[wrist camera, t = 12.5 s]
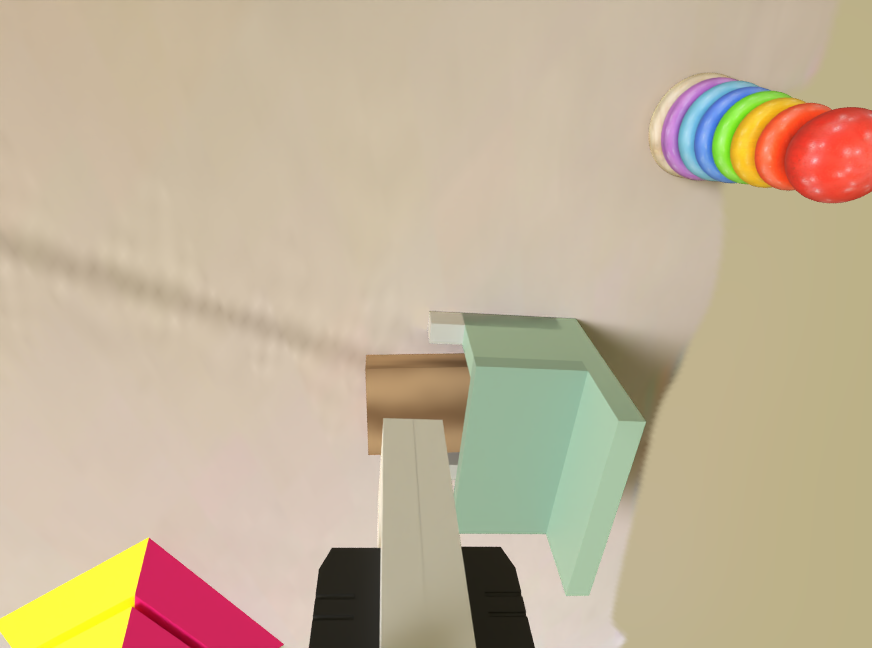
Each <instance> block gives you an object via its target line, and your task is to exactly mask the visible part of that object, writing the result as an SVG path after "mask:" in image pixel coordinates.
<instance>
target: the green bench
mask: <svg viewBox="0 0 872 648" xmlns="http://www.w3.org/2000/svg"><path fill="white" fill-rule="evenodd" d="M428 337H429V343H434V344H456V345H462V346H463V350H464V354H465V358H466V362H467V366H468V369H469V373H470V377H471V378H470V385H469V392H468V399H467V405H466V412H465V419H464V426H463V433H462V440H461V447H460V452H450V453H447V454H448V461H449V468H450V474H451V480H456V481H455V488H454V494H453V495H454V501H455V508H456V515H457V522H458V529H459V534H546V535H547V539H548V542H549V545H550V548H551V551H552V554H553V557H554V560H555V563H556V566H557V569H558V572H559V576H560V579H561V582H562V585H563V588H564V591H565V594H566V596H589V594H590V591H591V588H592V585H593V582H594V579H595V576H596V573H597V570H598V567H599V564H600V561H601V558H602V555H603V552H604V549H605V546H606V543H607V540H608V537H609V534H610V530H611V527H612V524H613V521H614V518H615V515H616V512H617V509H618V506H619V503H620V500H621V497H622V494H623V491H624V488H625V485H626V482H627V479H628V476H629V473H630V470H631V467H632V464H633V461H634V458H635V454H636V451H637V448H638V445H639V442H640V439H641V436H642V433H643V430H644V427H645V424H646V421H645V419H644V418H643V416H642V415H641V413H640V412H639V411H638V409H637V408H636V406H635V405H634V403H633V402H632V400H631V399H630V397H629V396H628V394H627V393H626V392H625V390H624V389H623V387H622V386H621V384H620V383H619V381H618V380H617V378H616V377H615V375H614V374H613V373H612V371H611V370H610V368H609V367H608V365H607V364H606V362H605V361H604V359H603V358H602V356H601V355H600V353H599V352H598V351H597V349H596V348H595V346H594V345H593V343H592V342H591V340H590V339H589V337H588V336H587V334H586V333H585V332H584V330H583V329H582V327H581V326H580V324H579V323H578V321H577V320H576V319H571V318H551V317H532V316H513V315H494V314H475V313H455V312H436V311H429V320H428Z"/></svg>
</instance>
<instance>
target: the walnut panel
mask: <svg viewBox="0 0 872 648" xmlns="http://www.w3.org/2000/svg"><path fill="white" fill-rule="evenodd" d="M365 371H366V399H367V427H368V455H381V447H382V432H383V418H395V419H429V420H443V427H444V434H445V440H446V447H447V453H450V452H460V447H461V440H462V433H463V426H464V419H465V412H466V405H467V399H468V392H469V385H470V378H471V377H470V373H469V369H468V366H467V362H466V358H465V354H464V353H459V354H398V355H366V368H365Z"/></svg>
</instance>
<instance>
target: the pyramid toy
mask: <svg viewBox="0 0 872 648" xmlns="http://www.w3.org/2000/svg"><path fill="white" fill-rule="evenodd" d="M0 632H1V633H2V635H3V636H4V637H5V639H6V640H7V642H8V643H9V644H10V646H11V647H12V648H279V647H281V646H283V645H284V644H283V643H282V642H280V641H279V640H278V639H277V638H275V637H274V636H273V635H271V634H270V633H269V632H268V631H266V630H265V629H264V628H263V627H261V626H260V625H259V624H258V623H256V622H255V621H254V620H252V619H251V618H250V617H249V616H247V615H246V614H245V613H244V612H242V611H241V610H240V609H239V608H237V607H236V606H235V605H233V604H232V603H231V602H230V601H228V600H227V599H226V598H225V597H223V596H222V595H221V594H220V593H218V592H217V591H216V590H214V589H213V588H212V587H211V586H209V585H208V584H207V583H206V582H204V581H203V580H202V579H201V578H199V577H198V576H197V575H195V574H194V573H193V572H192V571H190V570H189V569H188V568H187V567H185V566H184V565H183V564H182V563H180V562H179V561H178V560H176V559H175V558H174V557H173V556H171V555H170V554H169V553H168V552H166V551H165V550H164V549H163V548H161V547H160V546H159V545H158V544H156V543H155V542H154V541H152V540H151V539H150V538H147V539H145V540H143V541H142V542H140V543H138V544H136V545H134V546H132V547H131V548H129V549H127V550H125V551H123V552H121V553H120V554H118V555H116V556H114V557H112V558H111V559H109V560H107V561H105V562H103V563H101V564H100V565H98V566H96V567H94V568H92V569H90V570H89V571H87V572H85V573H83V574H81V575H79V576H78V577H76V578H74V579H72V580H70V581H69V582H67V583H65V584H63V585H61V586H59V587H58V588H56V589H54V590H52V591H50V592H48V593H47V594H45V595H43V596H41V597H39V598H37V599H36V600H34V601H32V602H30V603H28V604H27V605H25V606H23V607H21V608H19V609H17V610H16V611H14V612H12V613H10V614H8V615H6V616H5V617H3V618H1V619H0Z"/></svg>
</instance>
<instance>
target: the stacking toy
mask: <svg viewBox="0 0 872 648" xmlns="http://www.w3.org/2000/svg"><path fill="white" fill-rule="evenodd" d="M649 146H650V150H651V153H652V155H653V158H654V159H655V161H656V162H657V164H658V165H659V166H660V167H661V168H662V169H663V170H665V171H666V172H668V173H670V174H672V175H675V176H678V177H684V178H688V179H691V180H709V181H720V182H724V183H741V184H750V185H752V186H756V187H763V188H768V187H774V188H777V189H780V190H796V191H798V192H799V193H800V194H801V195H803V196H804V197H806V198H808V199H811V200H814V201H817V202H823V203H842V202H847V201H851V200H854V199H857V198H860V197H862V196H864V195H866V194H868V193H870V192H871V191H872V110H868V109H865V108H856V107H847V108H838V109H834V110H832V109H830V108H829V107H827V106H825V105H821V104H816V103H805V102H804V101H802V100H799V99H796V98H792V97H791V96H789V95H787V94H785V93H781V92H777V91H771V90H768V89H765V88H762V87H759V86H757V85H755V84H753V83H750V82H745V81H738V80H736V79H732V78H730V77H728V76H725V75H723V74H718V73H701V74H697V75H693V76H691V77H688V78H686V79H684V80H682V81H681V82H679V83H678V84H676V85H675V86H674V87H672V88H671V89H670V90H669V91H668V92H667V93H666V94H665V95H664V97H663V98H662V99H661V101H660V102H659V104H658V105H657V107H656V109H655V110H654V113H653V115H652V118H651V121H650V126H649Z"/></svg>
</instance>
